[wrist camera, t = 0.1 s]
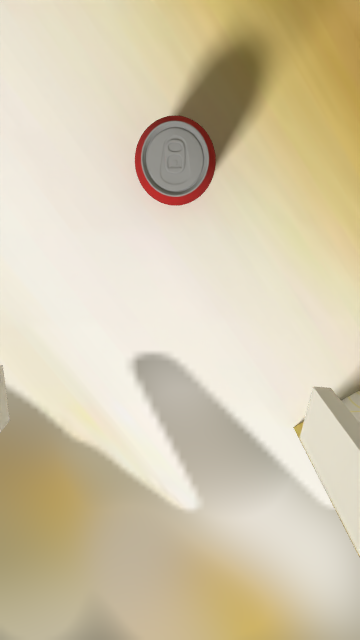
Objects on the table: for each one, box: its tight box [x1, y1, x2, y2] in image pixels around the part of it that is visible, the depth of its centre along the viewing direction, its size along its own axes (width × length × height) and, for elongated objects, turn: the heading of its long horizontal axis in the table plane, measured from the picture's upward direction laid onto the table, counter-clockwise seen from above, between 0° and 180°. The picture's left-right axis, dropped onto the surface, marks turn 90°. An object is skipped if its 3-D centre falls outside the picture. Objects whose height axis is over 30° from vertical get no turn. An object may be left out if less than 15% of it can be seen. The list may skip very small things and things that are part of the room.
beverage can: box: [135, 116, 216, 205], centre depth 30 cm, size 7×7×12 cm
